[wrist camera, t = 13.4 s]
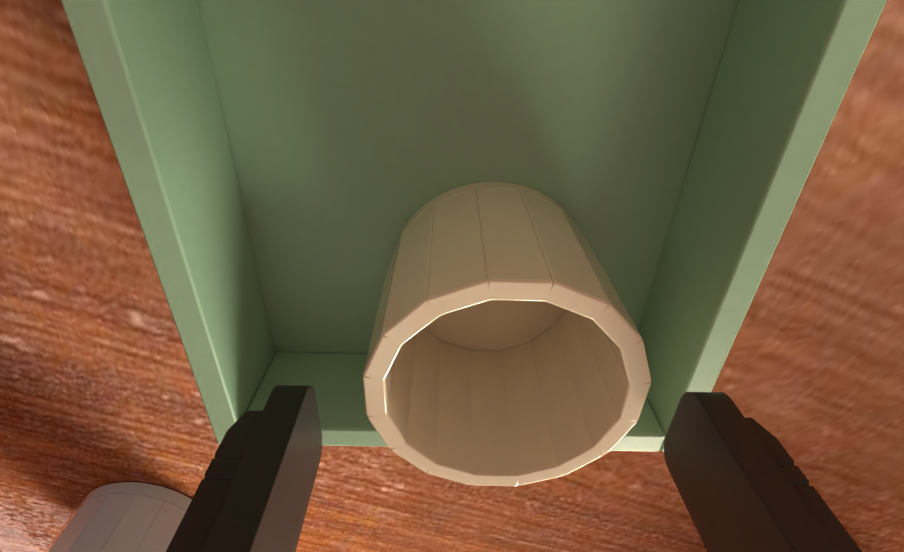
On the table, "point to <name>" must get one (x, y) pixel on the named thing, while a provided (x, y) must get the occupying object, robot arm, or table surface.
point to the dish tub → (456, 162)
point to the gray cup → (123, 520)
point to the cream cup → (501, 342)
